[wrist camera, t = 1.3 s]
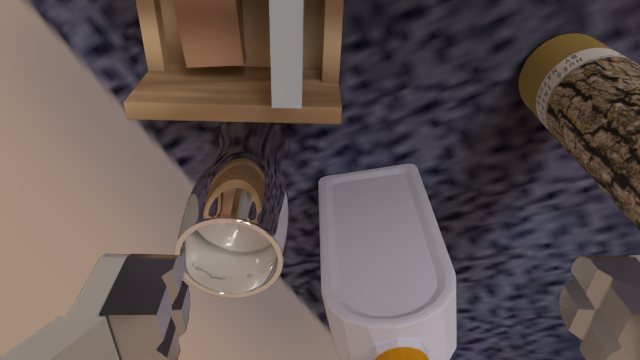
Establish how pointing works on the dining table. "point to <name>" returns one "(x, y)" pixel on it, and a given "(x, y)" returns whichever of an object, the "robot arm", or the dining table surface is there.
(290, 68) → the grey block
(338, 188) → the soap bottle
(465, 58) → the dining table surface
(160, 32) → the tray
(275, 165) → the beer glass
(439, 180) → the dining table surface
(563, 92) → the brown bark cylinder
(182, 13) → the offcut
